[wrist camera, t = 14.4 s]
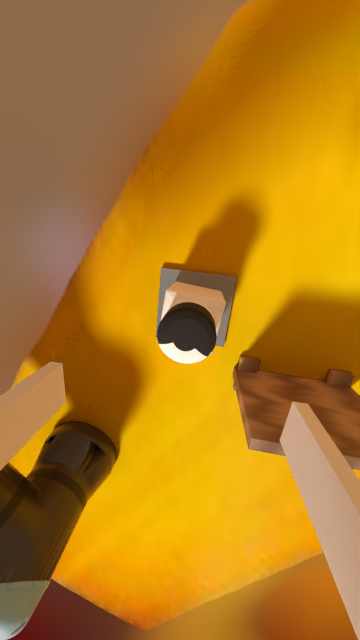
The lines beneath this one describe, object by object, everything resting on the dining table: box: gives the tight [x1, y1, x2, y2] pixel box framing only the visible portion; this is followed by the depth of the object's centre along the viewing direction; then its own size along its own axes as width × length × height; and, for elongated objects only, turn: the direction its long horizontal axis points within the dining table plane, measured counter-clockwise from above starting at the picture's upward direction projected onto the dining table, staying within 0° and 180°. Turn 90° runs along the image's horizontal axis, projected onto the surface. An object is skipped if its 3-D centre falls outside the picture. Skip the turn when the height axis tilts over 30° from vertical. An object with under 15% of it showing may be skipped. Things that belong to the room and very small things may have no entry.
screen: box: [233, 356, 360, 470], centre depth 27 cm, size 18×6×14 cm, turn 84°
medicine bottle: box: [157, 282, 226, 363], centre depth 26 cm, size 7×7×12 cm
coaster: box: [156, 268, 237, 347], centre depth 32 cm, size 11×11×1 cm
